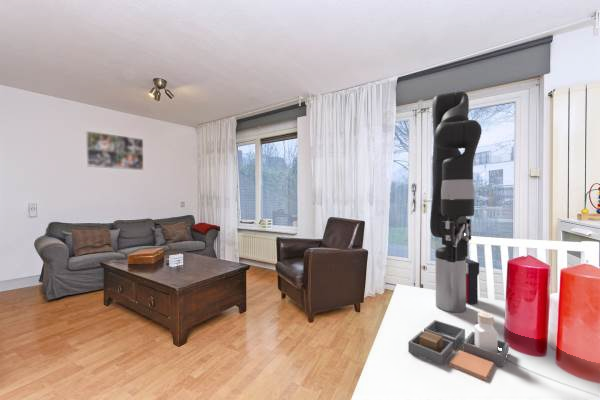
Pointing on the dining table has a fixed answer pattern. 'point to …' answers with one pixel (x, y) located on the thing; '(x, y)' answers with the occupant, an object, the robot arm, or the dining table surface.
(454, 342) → the empty bin
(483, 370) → the terracotta pad
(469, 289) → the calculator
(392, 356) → the dining table surface
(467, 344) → the shaker bin
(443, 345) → the bin with cube
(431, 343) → the walnut cube
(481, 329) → the salt shaker
